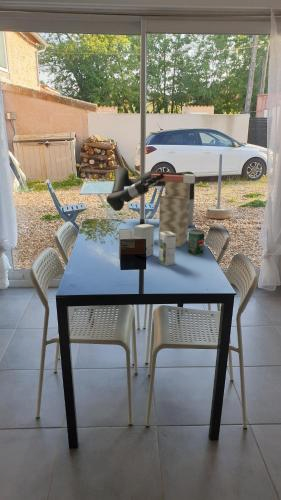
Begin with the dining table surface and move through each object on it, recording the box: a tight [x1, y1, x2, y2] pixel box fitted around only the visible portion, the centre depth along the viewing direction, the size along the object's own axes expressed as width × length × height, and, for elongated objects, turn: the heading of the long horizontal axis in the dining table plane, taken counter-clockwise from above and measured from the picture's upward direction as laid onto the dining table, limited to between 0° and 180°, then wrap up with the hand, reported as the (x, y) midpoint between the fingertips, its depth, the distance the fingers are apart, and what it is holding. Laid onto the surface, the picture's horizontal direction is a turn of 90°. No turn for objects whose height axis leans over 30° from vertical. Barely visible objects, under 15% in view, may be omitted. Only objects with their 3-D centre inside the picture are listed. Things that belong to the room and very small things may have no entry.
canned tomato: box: [187, 229, 206, 256], centre depth 184 cm, size 8×8×11 cm
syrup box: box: [158, 231, 176, 267], centre depth 170 cm, size 6×6×14 cm
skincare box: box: [133, 223, 155, 257], centre depth 180 cm, size 8×6×15 cm
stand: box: [158, 182, 190, 248], centre depth 197 cm, size 12×13×32 cm
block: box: [151, 173, 196, 184], centre depth 196 cm, size 23×4×4 cm, turn 67°
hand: (164, 175), depth 197 cm, fingers closed on block, 3 cm apart
